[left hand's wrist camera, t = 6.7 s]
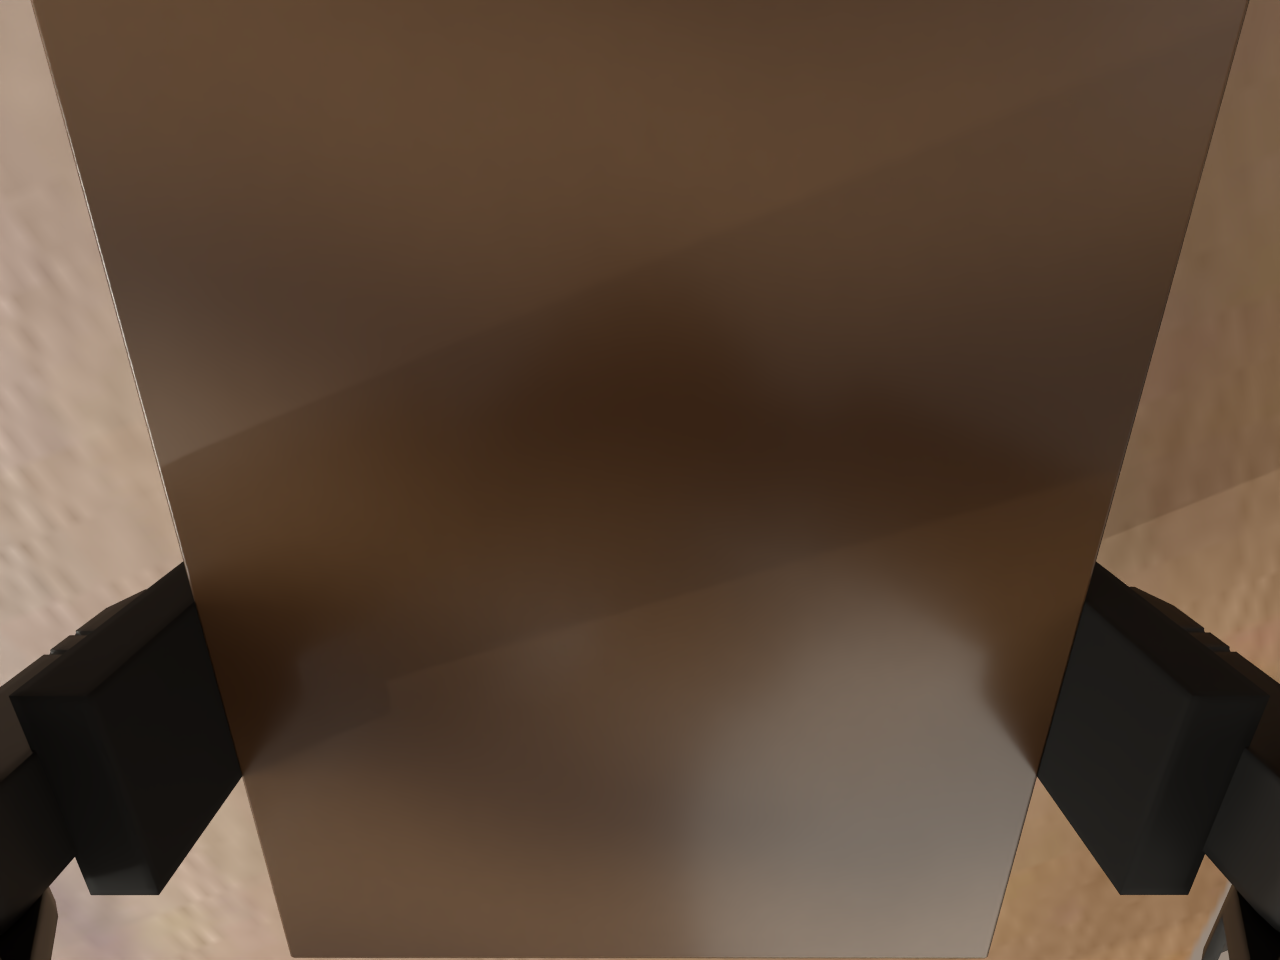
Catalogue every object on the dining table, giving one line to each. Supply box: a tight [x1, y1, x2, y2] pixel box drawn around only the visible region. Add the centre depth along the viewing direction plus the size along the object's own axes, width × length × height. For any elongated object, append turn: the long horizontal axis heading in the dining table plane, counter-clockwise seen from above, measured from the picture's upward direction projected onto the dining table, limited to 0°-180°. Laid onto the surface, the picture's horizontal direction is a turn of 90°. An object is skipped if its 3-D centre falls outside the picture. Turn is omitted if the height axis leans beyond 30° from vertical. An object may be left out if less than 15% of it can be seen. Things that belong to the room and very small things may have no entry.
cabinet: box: [31, 0, 1249, 958], centre depth 11 cm, size 19×11×8 cm, turn 0°
